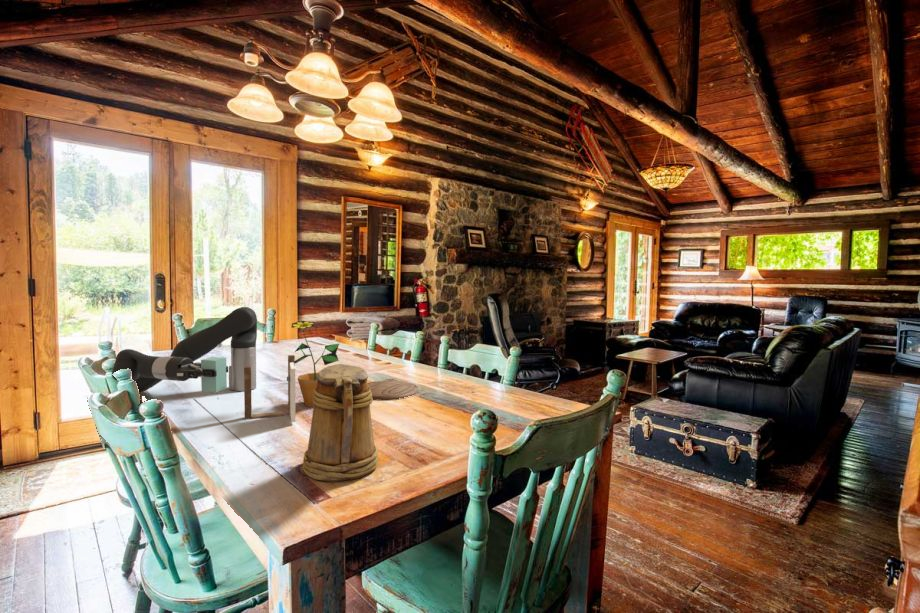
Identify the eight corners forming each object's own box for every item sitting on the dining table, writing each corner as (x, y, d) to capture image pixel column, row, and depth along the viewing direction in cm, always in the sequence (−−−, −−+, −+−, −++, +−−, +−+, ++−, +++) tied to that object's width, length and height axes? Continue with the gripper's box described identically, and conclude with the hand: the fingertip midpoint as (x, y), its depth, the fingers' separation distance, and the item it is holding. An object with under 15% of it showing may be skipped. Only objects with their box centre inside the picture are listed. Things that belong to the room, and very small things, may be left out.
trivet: (344, 396, 178) (344, 392, 178) (374, 382, 202) (374, 378, 202) (402, 403, 171) (403, 398, 171) (427, 388, 195) (427, 383, 194)
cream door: (286, 412, 152) (285, 362, 151) (293, 412, 153) (293, 362, 152) (287, 422, 143) (287, 369, 141) (295, 421, 144) (295, 368, 142)
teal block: (201, 391, 141) (200, 359, 141) (212, 387, 146) (211, 356, 146) (216, 392, 141) (215, 360, 140) (226, 388, 146) (226, 357, 145)
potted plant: (277, 406, 163) (276, 323, 161) (316, 394, 179) (316, 318, 177) (313, 414, 155) (313, 326, 152) (351, 401, 171) (351, 322, 169)
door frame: (244, 419, 147) (243, 358, 146) (245, 416, 150) (244, 357, 149) (294, 414, 153) (294, 356, 152) (294, 412, 156) (294, 354, 155)
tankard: (367, 447, 126) (368, 359, 124) (392, 484, 105) (393, 378, 103) (298, 457, 118) (298, 363, 117) (310, 499, 97) (310, 384, 96)
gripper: (189, 374, 152) (236, 377, 150) (155, 385, 138) (206, 389, 136) (189, 352, 152) (235, 355, 149) (154, 361, 138) (205, 364, 135)
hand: (221, 371), depth 143 cm, fingers closed on teal block, 5 cm apart
